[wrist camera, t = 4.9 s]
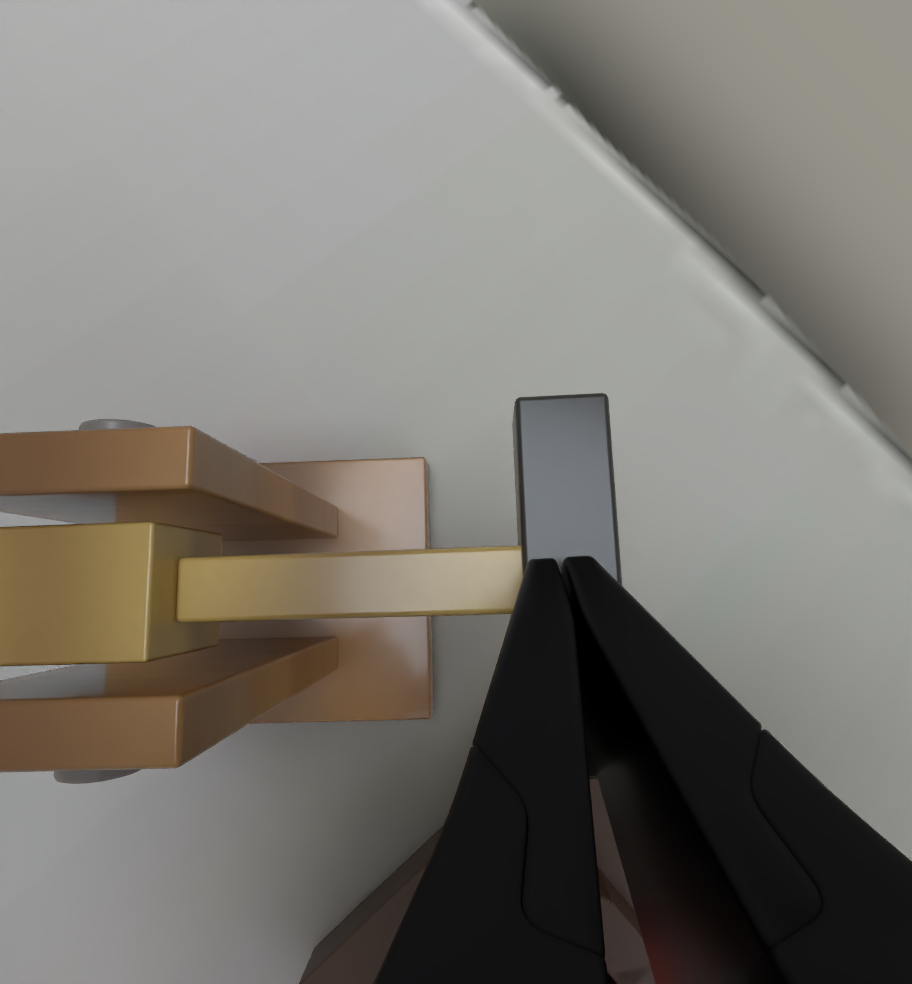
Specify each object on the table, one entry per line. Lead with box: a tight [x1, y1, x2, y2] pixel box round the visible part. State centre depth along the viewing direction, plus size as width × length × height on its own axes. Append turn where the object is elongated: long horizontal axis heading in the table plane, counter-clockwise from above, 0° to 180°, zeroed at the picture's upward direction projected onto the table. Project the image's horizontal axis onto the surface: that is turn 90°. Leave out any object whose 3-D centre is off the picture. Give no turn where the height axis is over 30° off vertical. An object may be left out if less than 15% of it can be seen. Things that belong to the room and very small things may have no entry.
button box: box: [299, 779, 656, 984], centre depth 16 cm, size 8×10×4 cm
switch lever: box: [0, 393, 622, 779], centre depth 10 cm, size 10×6×2 cm, turn 92°
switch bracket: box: [0, 419, 434, 784], centre depth 14 cm, size 10×8×11 cm
